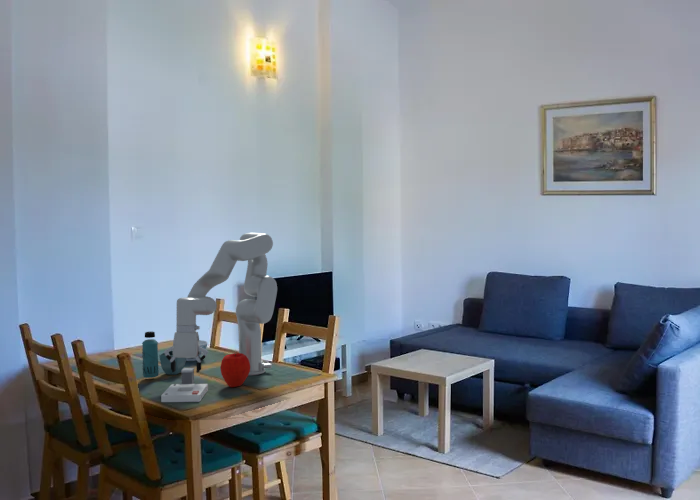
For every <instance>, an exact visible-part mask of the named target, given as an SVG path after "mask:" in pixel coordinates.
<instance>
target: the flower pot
mask: <svg viewBox="0 0 700 500" xmlns="http://www.w3.org/2000/svg"><path fill="white" fill-rule="evenodd" d="M169 355H170V356H171V357H173V350H172V351H170V352H169ZM158 357H159V362H160V367H161V370H162V371H163V372H164V374H165V375H173V376H174V375H175V376H176V375H179V374H180V373H182V372H181V370H182V369H183V368H185V365H186V362H187V361H186V358H176V359H175V361H176V371H175V372H172V370H171V362H170V361H169V360H168V359H167V358H166V355H165V353H164V352H162V353H160V354H158Z"/></svg>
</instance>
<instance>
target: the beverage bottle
mask: <svg viewBox="0 0 700 500" xmlns="http://www.w3.org/2000/svg"><path fill="white" fill-rule="evenodd" d="M155 333H156V332H155V331H144V338H146V339H144V341H142V343H141V344H142V345H141V347H142V349H141V351H142V352H141V353H142V355H141V357H142V376H143V378H149V379H150V378H151V379H152V378H156V377H159V366H160V365H159V362H160V360H159V348H158V347H159V343H158V341H157V340H156V339H154V338H155V337H156V334H155Z"/></svg>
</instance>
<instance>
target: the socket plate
mask: <svg viewBox="0 0 700 500" xmlns="http://www.w3.org/2000/svg"><path fill="white" fill-rule="evenodd" d="M208 391H209V384H208V383H194V384H182V383H175V384H174V383H172V384H170V386H169V387H167V388H166V390H165V391H164V392H163V393H162V394H161V395H160V397H161V398H160V399H161V400H160V401H161V403H194V402H195V403H196V402H201V400H202V399H203V397H204V396H205V395H206V394H207V393H208Z"/></svg>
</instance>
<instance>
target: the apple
mask: <svg viewBox="0 0 700 500" xmlns="http://www.w3.org/2000/svg"><path fill="white" fill-rule="evenodd" d="M249 372H250V362H249V360H248V358H247V356H246V355H244V354H242V353H239V352H235V353H229V354H226V355H225V356H223V358H222V360H221V364H220V374H221V376H222V379H223V380H224V382H225V384H226V385H227V386H228V387H230V388H236V387H240V386H242V385H243V384H244V382H245V381H246V379H247V378H248V377H249V375H248V374H249Z"/></svg>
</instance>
